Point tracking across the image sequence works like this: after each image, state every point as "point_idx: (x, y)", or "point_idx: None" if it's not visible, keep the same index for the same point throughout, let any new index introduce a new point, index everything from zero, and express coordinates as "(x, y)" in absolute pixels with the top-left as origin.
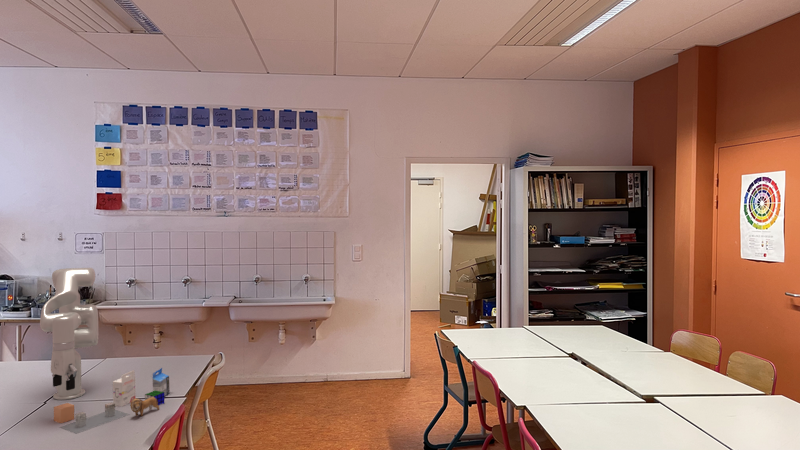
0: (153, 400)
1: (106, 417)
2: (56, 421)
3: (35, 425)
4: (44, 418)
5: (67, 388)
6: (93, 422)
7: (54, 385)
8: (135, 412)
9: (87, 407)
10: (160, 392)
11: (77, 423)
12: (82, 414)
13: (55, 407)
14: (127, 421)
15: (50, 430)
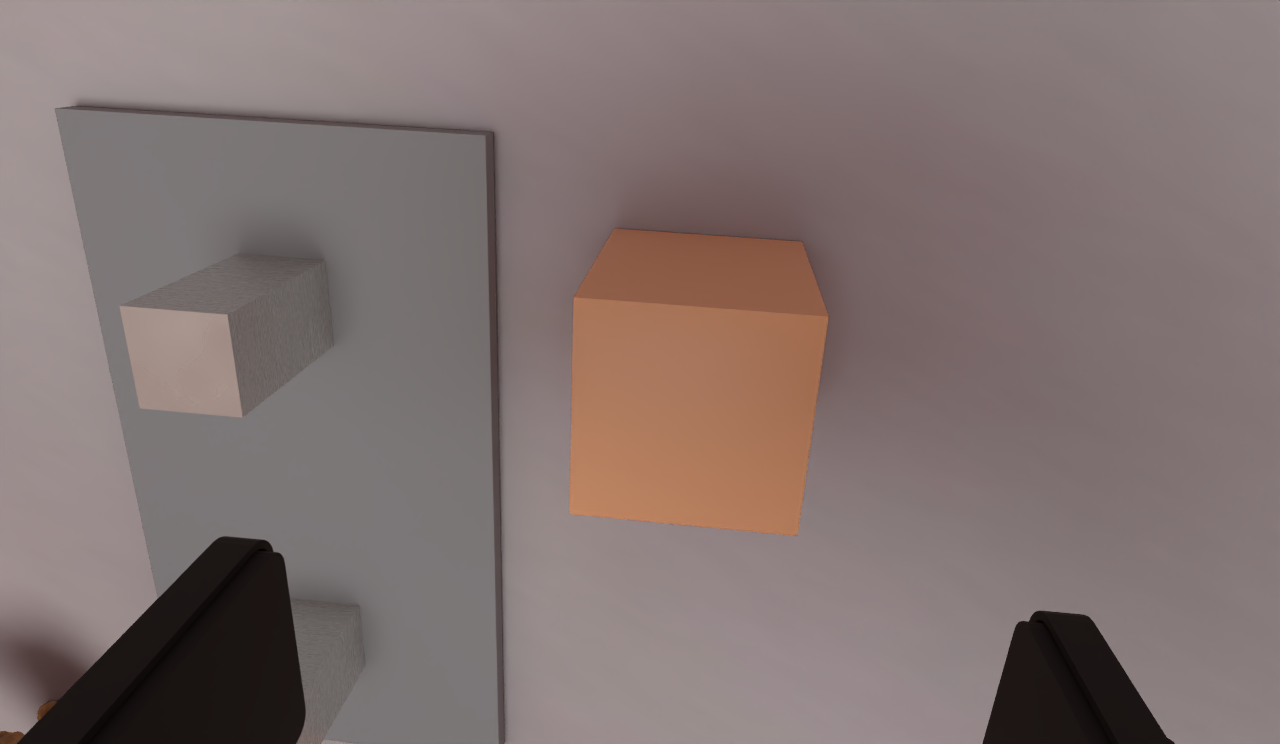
0: None
1: (305, 585)
2: (732, 244)
3: (975, 50)
4: (1106, 279)
5: (203, 584)
6: (270, 434)
7: (1032, 646)
8: (1, 732)
9: (891, 716)
10: None
11: (250, 269)
12: (133, 356)
13: (766, 311)
14: (76, 614)
15: (563, 46)
